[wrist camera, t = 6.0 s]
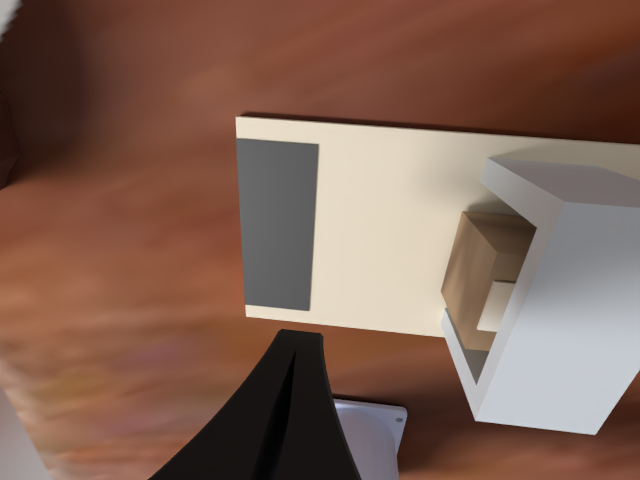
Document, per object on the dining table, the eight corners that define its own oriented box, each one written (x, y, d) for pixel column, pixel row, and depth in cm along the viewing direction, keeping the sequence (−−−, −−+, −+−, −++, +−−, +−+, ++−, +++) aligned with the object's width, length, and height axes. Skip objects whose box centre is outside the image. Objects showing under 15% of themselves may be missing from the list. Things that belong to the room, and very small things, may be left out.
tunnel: (710, 359, 20) (870, 483, 14) (248, 311, 21) (206, 403, 15) (869, 161, 14) (1244, 219, 8) (239, 115, 16) (169, 137, 10)
